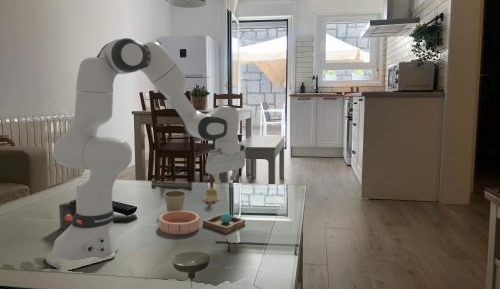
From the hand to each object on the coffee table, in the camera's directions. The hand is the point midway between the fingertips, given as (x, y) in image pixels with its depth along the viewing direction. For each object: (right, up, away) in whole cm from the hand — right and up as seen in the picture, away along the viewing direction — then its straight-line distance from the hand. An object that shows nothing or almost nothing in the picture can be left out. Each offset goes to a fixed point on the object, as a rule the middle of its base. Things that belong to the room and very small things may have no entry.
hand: (225, 182), depth 165 cm
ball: (-1, -17, +4) cm, 17 cm away
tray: (-1, -18, +4) cm, 18 cm away
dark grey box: (-54, -18, -6) cm, 57 cm away
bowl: (-18, -18, 0) cm, 25 cm away
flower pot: (-23, -15, +16) cm, 31 cm away
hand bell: (-9, -12, +36) cm, 39 cm away
